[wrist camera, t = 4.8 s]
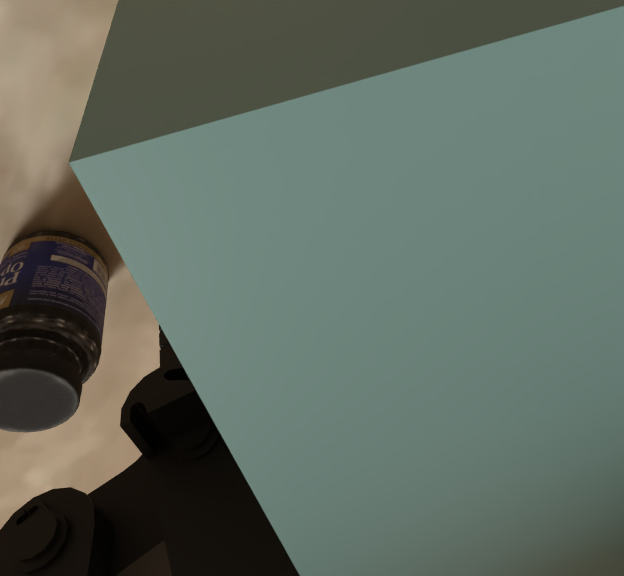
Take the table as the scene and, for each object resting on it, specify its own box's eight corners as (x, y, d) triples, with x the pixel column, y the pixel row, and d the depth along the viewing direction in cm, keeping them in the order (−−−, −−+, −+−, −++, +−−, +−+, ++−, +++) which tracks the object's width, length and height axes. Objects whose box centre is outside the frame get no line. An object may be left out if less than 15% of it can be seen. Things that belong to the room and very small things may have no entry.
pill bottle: (14, 214, 28) (-42, 343, 20) (121, 244, 31) (111, 368, 23) (-5, 293, 31) (-62, 436, 23) (95, 314, 34) (77, 447, 26)
